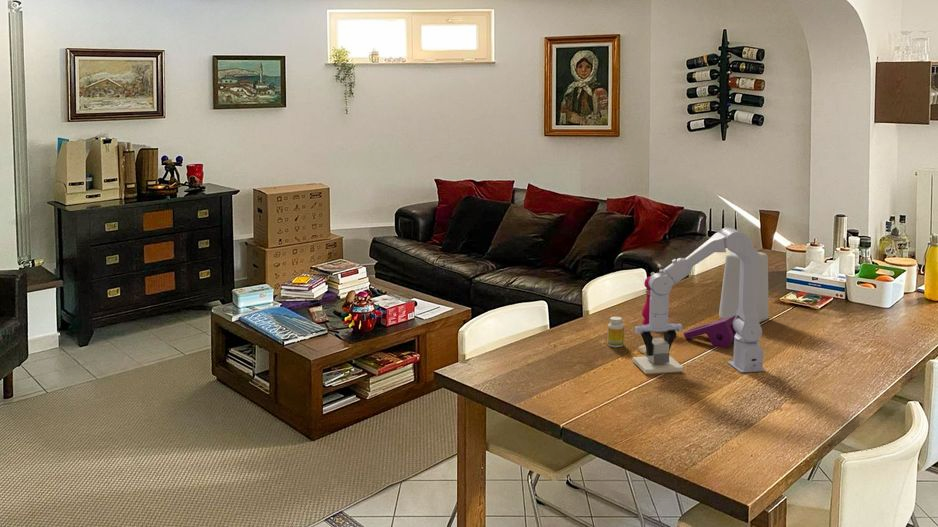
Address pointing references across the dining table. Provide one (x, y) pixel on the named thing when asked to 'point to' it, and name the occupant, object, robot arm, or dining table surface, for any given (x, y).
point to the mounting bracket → (716, 332)
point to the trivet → (657, 366)
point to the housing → (659, 351)
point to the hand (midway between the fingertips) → (657, 354)
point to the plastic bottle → (731, 287)
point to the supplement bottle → (615, 332)
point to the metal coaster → (642, 349)
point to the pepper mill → (647, 302)
